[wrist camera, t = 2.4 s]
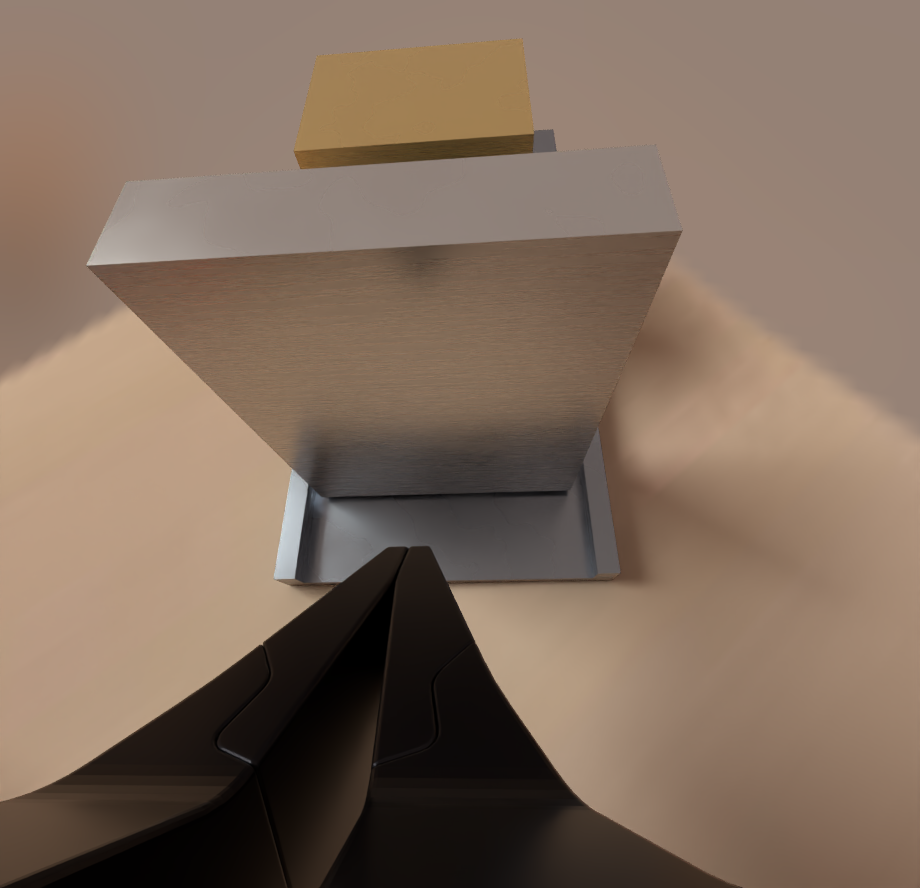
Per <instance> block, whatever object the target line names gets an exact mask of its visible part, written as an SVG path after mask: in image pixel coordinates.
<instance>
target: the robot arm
mask: <svg viewBox="0 0 920 888" xmlns="http://www.w3.org/2000/svg"><path fill="white" fill-rule="evenodd" d="M0 888H742V887H739V886H736V885H733V884H730V883H727V882H725V881H723V880H721V879H719V878H717V877H715V876H713V875H711V874H709V873H707V872H705V871H703V870H701V869H699V868H697V867H696V866H694V865H692V864H690V863H688V862H687V861H685V860H683V859H681V858H679V857H678V856H676V855H674V854H672V853H670V852H669V851H667V850H665V849H663V848H661V847H660V846H658V845H656V844H654V843H652V842H651V841H649V840H647V839H645V838H643V837H642V836H640V835H638V834H636V833H634V832H633V831H631V830H629V829H627V828H625V827H624V826H622V825H620V824H618V823H616V822H615V821H613V820H611V819H609V818H607V817H606V816H604V815H602V814H600V813H598V812H596V811H595V810H593V809H592V808H590V807H589V806H588V805H587V804H585V803H584V802H583V801H582V800H581V799H580V798H579V797H578V796H577V795H576V794H575V793H574V792H573V791H572V790H571V789H570V788H569V786H568V785H567V784H566V783H565V781H564V780H563V779H562V777H561V776H560V775H559V773H558V772H557V771H556V769H555V768H554V766H553V765H552V764H551V762H550V761H549V759H548V758H547V756H546V755H545V753H544V752H543V751H542V749H541V748H540V746H539V745H538V743H537V742H536V741H535V739H534V738H533V736H532V735H531V733H530V732H529V730H528V729H527V728H526V726H525V725H524V723H523V722H522V720H521V719H520V718H519V716H518V715H517V713H516V712H515V710H514V709H513V708H512V706H511V705H510V703H509V702H508V700H507V698H506V697H505V695H504V694H503V692H502V691H501V689H500V687H499V686H498V684H497V683H496V681H495V679H494V678H493V676H492V674H491V672H490V670H489V668H488V666H487V664H486V663H485V661H484V659H483V657H482V655H481V652H480V650H479V648H478V646H477V644H475V640H474V638H473V636H472V634H471V632H470V630H469V628H468V625H467V623H466V621H465V619H464V617H463V615H462V613H461V611H460V609H459V606H458V604H457V602H456V600H455V598H454V596H453V594H452V592H451V589H450V587H449V585H448V583H447V581H446V579H445V577H444V575H443V573H442V570H441V568H440V566H439V564H438V562H437V560H436V558H435V556H434V553H433V551H432V549H431V548H430V547H429V546H411V547H410V548H409V549H408V547H405V546H396V547H387V548H386V549H384V550H383V551H382V552H380V553H379V554H378V555H376V556H375V557H374V558H373V559H371V560H370V561H369V562H367V563H366V564H365V565H363V566H362V567H361V568H360V569H358V570H357V571H356V572H354V573H353V574H352V575H350V576H349V577H348V578H346V579H345V580H344V581H343V582H341V583H340V584H339V585H337V586H336V587H335V588H333V589H332V590H331V591H330V592H328V593H327V594H326V595H324V596H323V597H322V598H320V599H319V600H318V601H316V602H315V603H314V604H313V605H311V606H310V607H309V608H307V609H306V610H305V611H303V612H302V613H301V614H300V615H298V616H297V617H296V618H294V619H293V620H292V621H290V622H289V623H288V624H286V625H285V626H284V627H283V628H281V629H280V630H279V631H277V632H276V633H275V634H273V635H272V636H271V637H269V638H268V639H267V640H266V641H264V642H263V645H259V646H258V647H256V648H255V649H254V650H252V651H251V652H250V653H248V654H247V655H246V656H244V657H243V658H242V659H241V660H239V661H238V662H236V663H235V664H234V665H232V666H231V667H230V668H228V669H227V670H226V671H224V672H223V673H221V674H220V675H219V676H217V677H216V678H215V679H213V680H212V681H210V682H209V683H207V684H206V685H205V686H203V687H202V688H200V689H199V690H197V691H196V692H194V693H193V694H191V695H190V696H188V697H187V698H185V699H184V700H183V701H181V702H180V703H178V704H177V705H175V706H174V707H172V708H170V709H169V710H167V711H166V712H164V713H163V714H161V715H160V716H158V717H157V718H155V719H154V720H152V721H151V722H149V723H148V724H146V725H145V726H143V727H142V728H140V729H139V730H137V731H136V732H134V733H133V734H131V735H129V736H128V737H126V738H125V739H123V740H122V741H120V742H119V743H117V744H116V745H114V746H113V747H111V748H110V749H108V750H107V751H105V752H104V753H102V754H101V755H99V756H98V757H96V758H95V759H93V760H92V761H90V762H88V763H87V764H85V765H84V766H82V767H80V768H79V769H77V770H76V771H74V772H72V773H71V774H69V775H67V776H65V777H63V778H61V779H60V780H58V781H56V782H54V783H52V784H50V785H47V786H45V787H43V788H40V789H38V790H36V791H33V792H31V793H28V794H25V795H22V796H19V797H16V798H13V799H10V800H6V801H2V802H0Z"/></svg>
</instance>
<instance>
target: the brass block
mask: <svg viewBox="0 0 920 888" xmlns="http://www.w3.org/2000/svg"><path fill="white" fill-rule="evenodd" d="M525 65H526V64H525V57H524V48H523V40H522V39H510V40H498V41H487V42H474V43H463V44H452V45H440V46H427V47H416V48H404V49H391V50H380V51H368V52H357V53H344V54H332V55H320V56H317V58H316V62H315V66H314V70H313V74H312V78H311V82H310V87H309V90H308V95H307V99H306V103H305V107H304V111H303V115H302V119H301V123H300V128H299V131H298V135H297V140H296V143H295V148H294V153H295V156H296V158H297V161H298V164H299V166H300V169H313V168H327V167H342V166H356V165H370V164H385V163H399V162H413V161H427V160H442V159H456V158H470V157H485V156H499V155H513V154H528V153H533V142H534V130H533V121H532V113H531V105H530V97H529V89H528V80H527V73H526V66H525Z"/></svg>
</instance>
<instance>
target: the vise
mask: <svg viewBox="0 0 920 888" xmlns="http://www.w3.org/2000/svg"><path fill="white" fill-rule="evenodd" d="M542 152H556V144H555V138H554V132H553V130H538V131H534V142H533V153H542ZM396 546H405V547H408V549H409V548H410V547H411V546H429V547H430V548H431V549H432V551H433V553H434V556H435V558H436V560H437V562H438V564H439V566H440V568H441V570H442V573H443V575H444V577H445V579H446V581H447V582H502V581H563V580H612V579H614V578H615V577H616V576H618V575H619V574H620V573H621V572H620V565H619V559H618V552H617V546H616V539H615V533H614V526H613V520H612V513H611V507H610V500H609V494H608V487H607V481H606V474H605V468H604V461H603V455H602V448H601V442H600V435H599V429H598V428H597V430H596V433H595V435H594V437H593V440H592V442H591V444H590V447H589V449H588V451H587V454H586V456H585V458H584V461H583V463H582V465H581V468H580V470H579V472H578V475H577V477H576V479H575V482H574V484H573V486H572V488H571V490H563V491H527V492H491V493H454V494H418V495H382V496H346V497H321V496H320V495H319V494H318V493H317V492H316V491H315V490H314V489H313V488H311V487H310V486H309V485H308V484H307V483H306V482H305V481H304V480H303V479H302V478H301V477H300V476H299V475H298V474H297V473H296V472H295V471H294V470H293V469H292V472H291V478H290V484H289V490H288V496H287V502H286V508H285V514H284V520H283V526H282V532H281V538H280V544H279V550H278V556H277V562H276V568H275V574H274V580H277V581H279V582H282V583H284V584H287V585H319V584H340V583H341V582H343V581H344V580H345V579H346V578H348V577H349V576H350V575H352V574H353V573H354V572H356V571H357V570H358V569H360V568H361V567H362V566H363V565H365V564H366V563H367V562H369V561H370V560H371V559H373V558H374V557H375V556H376V555H378V554H379V553H380V552H382V551H383V550H384V549H386V548H387V547H396Z"/></svg>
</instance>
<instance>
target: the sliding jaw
mask: <svg viewBox="0 0 920 888" xmlns="http://www.w3.org/2000/svg"><path fill="white" fill-rule="evenodd" d="M682 231H683V230H682V227H681V223H680V220H679V217H678V214H677V211H676V207H675V204H674V201H673V198H672V194H671V191H670V188H669V185H668V181H667V178H666V175H665V172H664V169H663V165H662V162H661V159H660V156H659V153H658V149H657V146H656V145H644V146H643V145H642V146H628V147H614V148H600V149H585V150H571V151H556V152H542V153H528V154H513V155H499V156H485V157H470V158H456V159H442V160H427V161H413V162H399V163H385V164H370V165H356V166H342V167H327V168H313V169H299V170H285V171H270V172H256V173H242V174H228V175H213V176H198V177H184V178H170V179H157V180H156V179H155V180H141V181H127V182H126V184H125V186H124V187H123V189H122V192H121V194H120V196H119V198H118V200H117V202H116V204H115V206H114V209H113V210H112V213H111V215H110V217H109V219H108V221H107V223H106V225H105V227H104V229H103V231H102V233H101V236H100V238H99V240H98V242H97V244H96V246H95V248H94V250H93V252H92V254H91V257H90V259H89V261H88V263H87V265H86V266H87V267H88V268H89V269H90V270H91V271H92V272H93V273H94V274H95V275H96V276H97V277H98V278H99V279H100V280H101V281H102V282H104V283H105V285H106V286H107V287H108V288H110V290H111V291H112V292H114V294H115V295H116V296H117V297H118V298H119V299H120V300H121V301H123V302H124V303H125V304H126V305H127V306H128V307H129V308H130V309H131V310H132V311H133V312H134V313H135V314H136V315H137V316H138V317H139V318H140V319H141V320H142V321H143V322H144V323H145V324H146V325H147V326H148V327H149V328H150V329H151V330H152V331H153V332H154V333H155V334H156V335H157V336H158V337H159V338H160V339H161V340H162V341H163V342H164V343H165V344H166V345H167V346H168V347H169V348H170V349H171V350H172V351H173V352H174V353H175V354H176V355H177V356H178V357H179V358H180V359H181V360H182V361H183V362H184V363H185V364H187V365H188V366H189V367H190V368H191V369H192V370H193V371H194V372H195V373H196V374H197V375H198V376H199V377H200V378H201V379H202V380H203V381H204V382H205V383H206V384H207V385H208V386H209V387H210V388H211V389H212V390H213V391H214V392H215V393H216V394H217V395H218V396H219V397H220V398H221V399H222V400H223V401H224V402H225V403H226V404H227V405H228V406H229V407H230V408H231V409H232V410H233V411H234V412H235V413H236V414H237V415H238V416H239V417H240V418H241V419H242V420H243V421H244V422H245V423H246V424H247V425H248V426H250V427H251V428H252V429H253V430H254V431H255V432H256V433H257V434H258V435H259V436H260V437H261V438H262V439H263V440H264V441H265V442H266V443H267V444H268V445H269V446H270V447H271V448H272V449H273V450H274V451H275V452H276V453H277V454H278V455H279V456H280V457H281V458H282V459H283V460H284V461H285V462H286V463H287V464H288V465H289V466H290V467H291V468H292V469H293V470H294V471H295V472H296V473H297V474H298V475H299V476H300V477H301V478H302V479H303V480H304V481H305V482H306V483H307V484H308V485H309V486H310V487H311V488H313V489H314V490H315V491H316V492H317V493H318V494H319V495H320V496H321V497H346V496H382V495H418V494H454V493H491V492H527V491H563V490H571V488H572V486H573V484H574V482H575V479H576V477H577V475H578V472H579V470H580V468H581V465H582V463H583V461H584V458H585V456H586V454H587V451H588V449H589V447H590V444H591V442H592V440H593V437H594V435H595V433H596V430H597V428H598V426H599V423H600V421H601V419H602V417H603V414H604V412H605V410H606V407H607V405H608V403H609V400H610V398H611V396H612V393H613V391H614V389H615V386H616V384H617V382H618V379H619V377H620V375H621V372H622V370H623V368H624V365H625V363H626V361H627V358H628V356H629V354H630V352H631V349H632V347H633V345H634V342H635V340H636V338H637V335H638V333H639V331H640V328H641V326H642V324H643V321H644V319H645V317H646V314H647V312H648V310H649V307H650V305H651V303H652V300H653V298H654V296H655V294H656V291H657V289H658V287H659V284H660V282H661V280H662V277H663V275H664V273H665V270H666V268H667V266H668V263H669V261H670V259H671V256H672V254H673V252H674V249H675V247H676V245H677V242H678V240H679V238H680V235H681V233H682Z"/></svg>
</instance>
